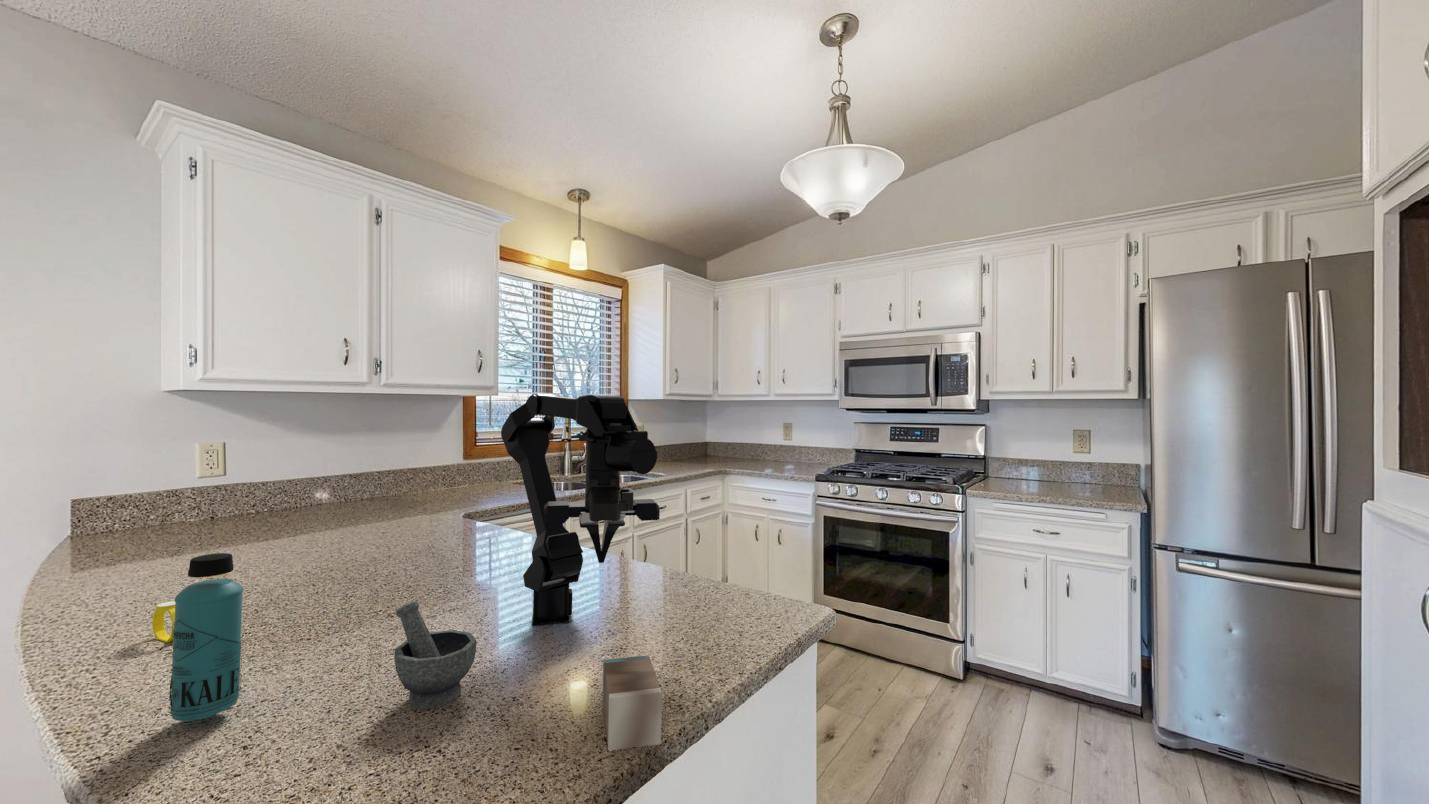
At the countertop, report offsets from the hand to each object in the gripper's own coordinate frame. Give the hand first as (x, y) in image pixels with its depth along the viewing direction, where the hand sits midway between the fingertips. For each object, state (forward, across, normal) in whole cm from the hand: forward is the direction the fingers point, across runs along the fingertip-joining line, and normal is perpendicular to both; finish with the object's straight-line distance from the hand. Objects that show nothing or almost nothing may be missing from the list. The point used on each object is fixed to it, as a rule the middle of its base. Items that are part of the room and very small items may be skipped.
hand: (601, 562), depth 93 cm
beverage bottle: (+13, -48, -13) cm, 51 cm away
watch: (+13, -68, +16) cm, 71 cm away
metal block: (+10, +2, -21) cm, 23 cm away
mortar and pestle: (+13, -23, -13) cm, 30 cm away
